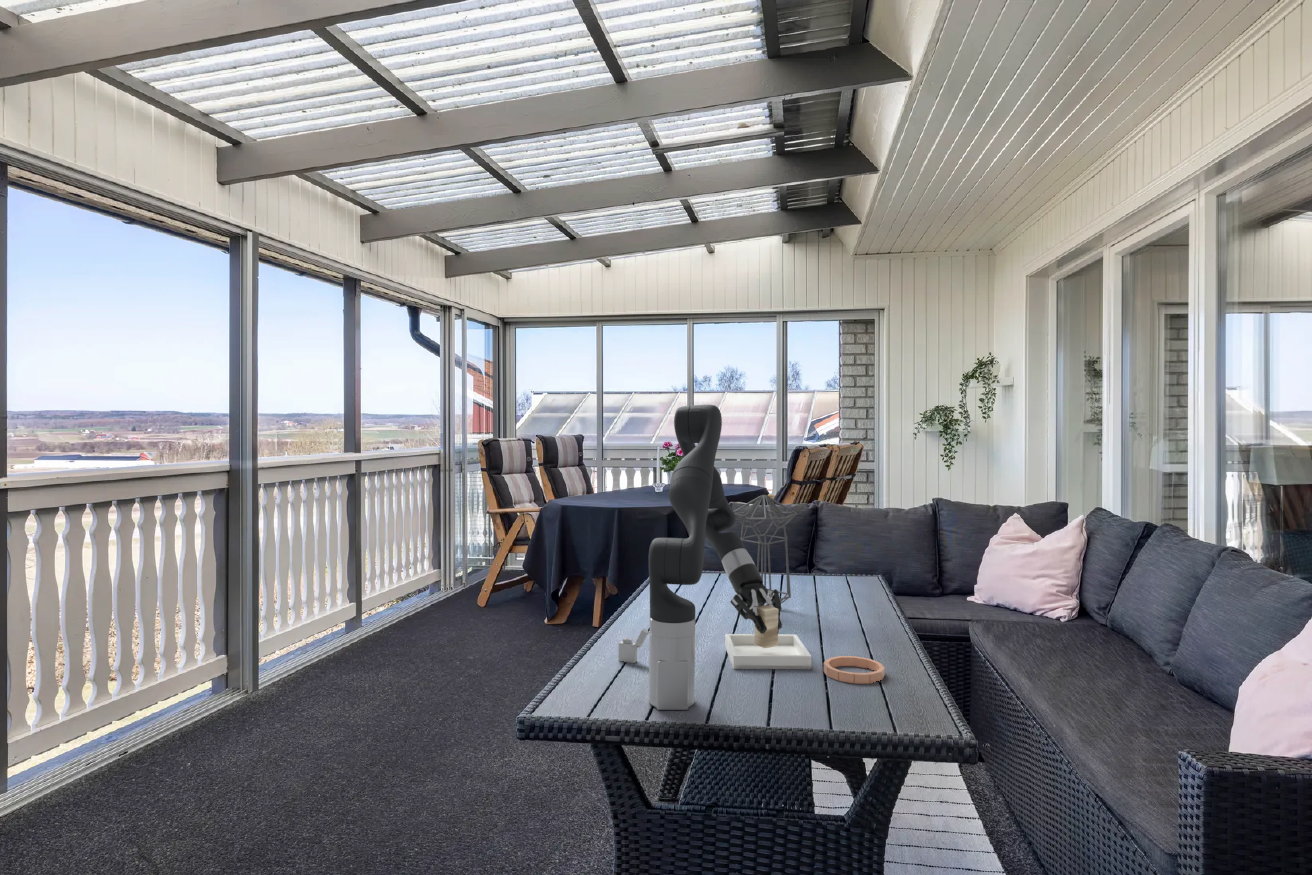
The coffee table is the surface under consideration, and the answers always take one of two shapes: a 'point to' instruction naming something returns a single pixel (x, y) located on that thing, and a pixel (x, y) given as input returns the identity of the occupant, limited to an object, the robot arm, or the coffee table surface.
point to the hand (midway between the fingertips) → (771, 630)
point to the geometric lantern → (754, 508)
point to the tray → (767, 653)
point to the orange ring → (854, 677)
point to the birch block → (771, 622)
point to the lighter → (631, 647)
